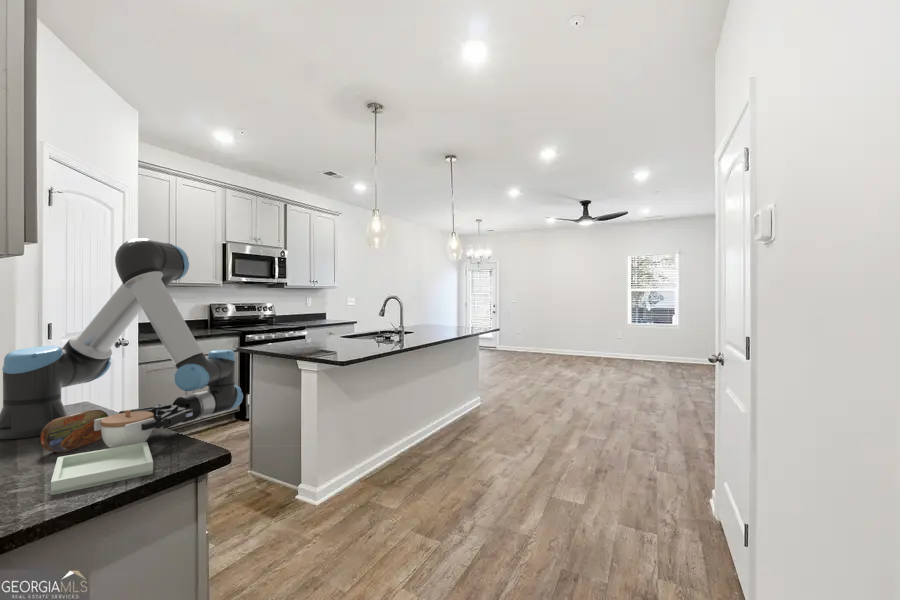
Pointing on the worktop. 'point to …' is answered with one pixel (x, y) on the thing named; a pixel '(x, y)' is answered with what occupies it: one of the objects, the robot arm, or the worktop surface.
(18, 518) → the worktop surface
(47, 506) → the worktop surface
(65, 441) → the tin
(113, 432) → the lidded jar
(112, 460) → the tray
